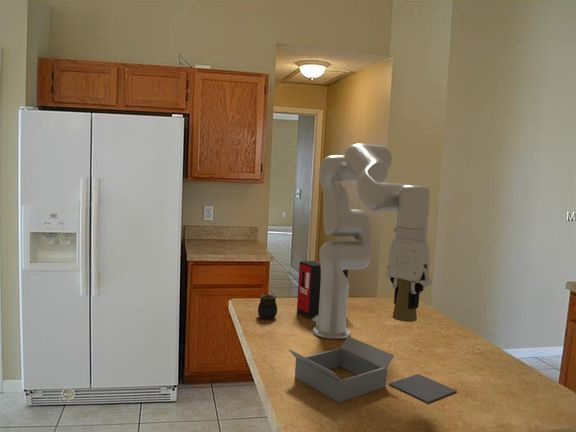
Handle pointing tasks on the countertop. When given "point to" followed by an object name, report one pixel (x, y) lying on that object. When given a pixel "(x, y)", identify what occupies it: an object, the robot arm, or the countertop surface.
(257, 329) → the countertop surface
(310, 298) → the cleaning product box
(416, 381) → the rubber mat
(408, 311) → the cork
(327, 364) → the carton
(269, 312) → the mate gourd
